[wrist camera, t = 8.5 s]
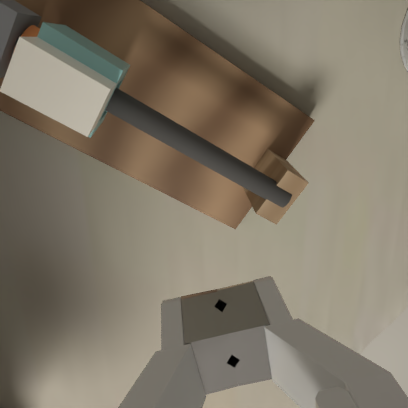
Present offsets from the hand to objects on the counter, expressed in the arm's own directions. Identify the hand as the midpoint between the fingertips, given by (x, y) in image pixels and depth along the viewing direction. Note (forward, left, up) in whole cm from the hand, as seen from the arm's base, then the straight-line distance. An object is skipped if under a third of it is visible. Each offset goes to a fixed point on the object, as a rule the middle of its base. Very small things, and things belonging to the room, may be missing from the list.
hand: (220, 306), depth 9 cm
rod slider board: (0, +4, -22) cm, 22 cm away
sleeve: (0, +8, -18) cm, 20 cm away
